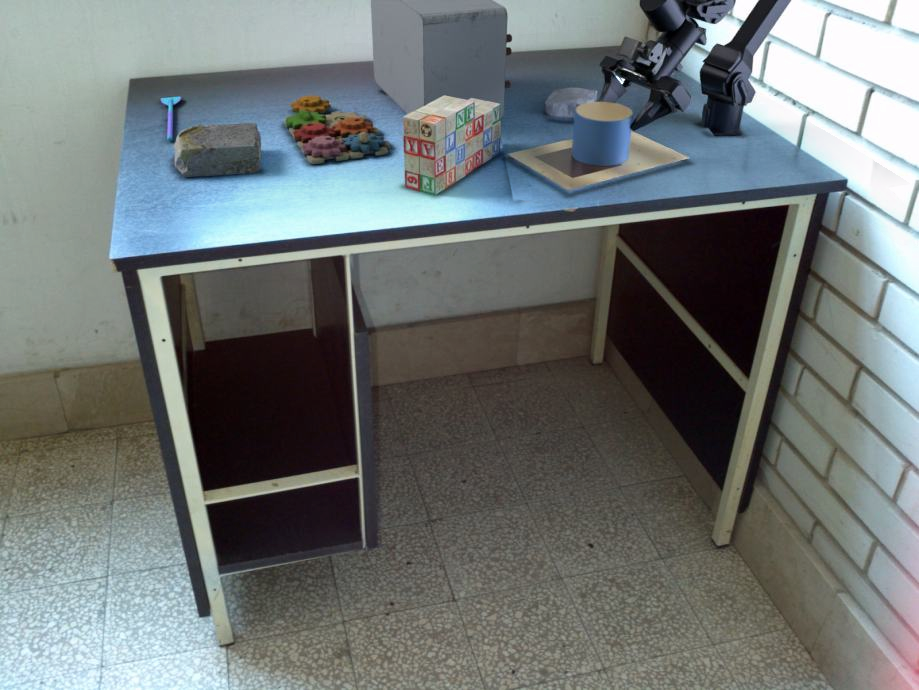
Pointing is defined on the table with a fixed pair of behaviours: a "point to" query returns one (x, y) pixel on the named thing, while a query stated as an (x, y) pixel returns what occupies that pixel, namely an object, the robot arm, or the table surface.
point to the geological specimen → (218, 150)
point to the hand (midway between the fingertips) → (614, 121)
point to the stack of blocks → (449, 141)
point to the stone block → (568, 101)
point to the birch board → (575, 174)
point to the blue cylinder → (601, 133)
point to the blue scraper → (170, 114)
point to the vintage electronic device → (440, 50)
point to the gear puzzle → (332, 132)
